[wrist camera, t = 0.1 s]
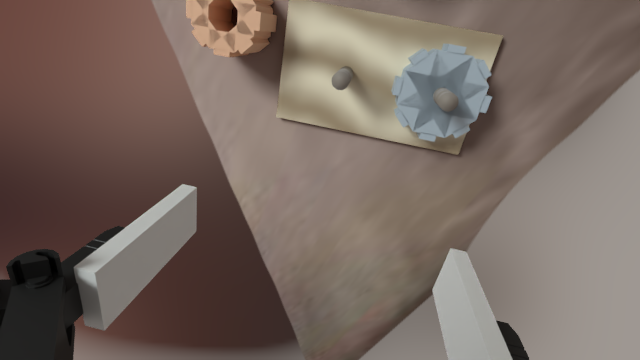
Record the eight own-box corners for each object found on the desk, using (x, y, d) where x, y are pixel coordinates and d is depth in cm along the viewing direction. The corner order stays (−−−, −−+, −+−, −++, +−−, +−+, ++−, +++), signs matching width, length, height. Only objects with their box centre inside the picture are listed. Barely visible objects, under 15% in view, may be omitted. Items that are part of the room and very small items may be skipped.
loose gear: (213, -27, 37) (185, -38, 32) (280, -15, 37) (263, -24, 31) (211, 47, 41) (186, 48, 35) (272, 59, 40) (256, 62, 35)
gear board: (291, -3, 37) (271, -12, 30) (500, 35, 35) (532, 35, 28) (277, 115, 43) (258, 130, 36) (456, 152, 41) (473, 176, 34)
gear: (405, 36, 36) (407, 36, 33) (498, 53, 35) (508, 54, 33) (382, 124, 40) (383, 131, 38) (464, 141, 40) (471, 149, 37)
